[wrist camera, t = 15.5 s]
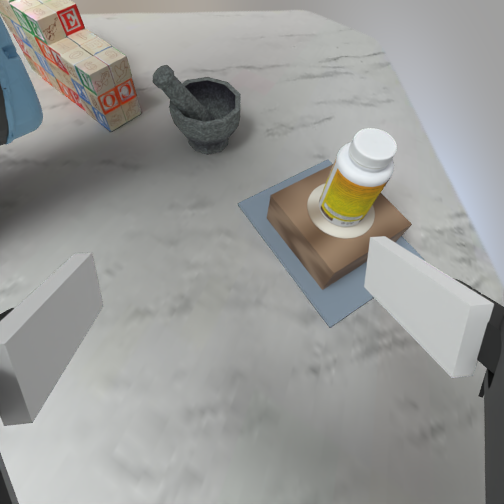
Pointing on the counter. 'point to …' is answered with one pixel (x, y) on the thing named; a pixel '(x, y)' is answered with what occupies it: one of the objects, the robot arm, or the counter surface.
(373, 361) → the counter surface
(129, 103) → the stack of blocks
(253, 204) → the mat
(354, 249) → the foundation block
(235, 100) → the mortar and pestle
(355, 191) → the supplement bottle
